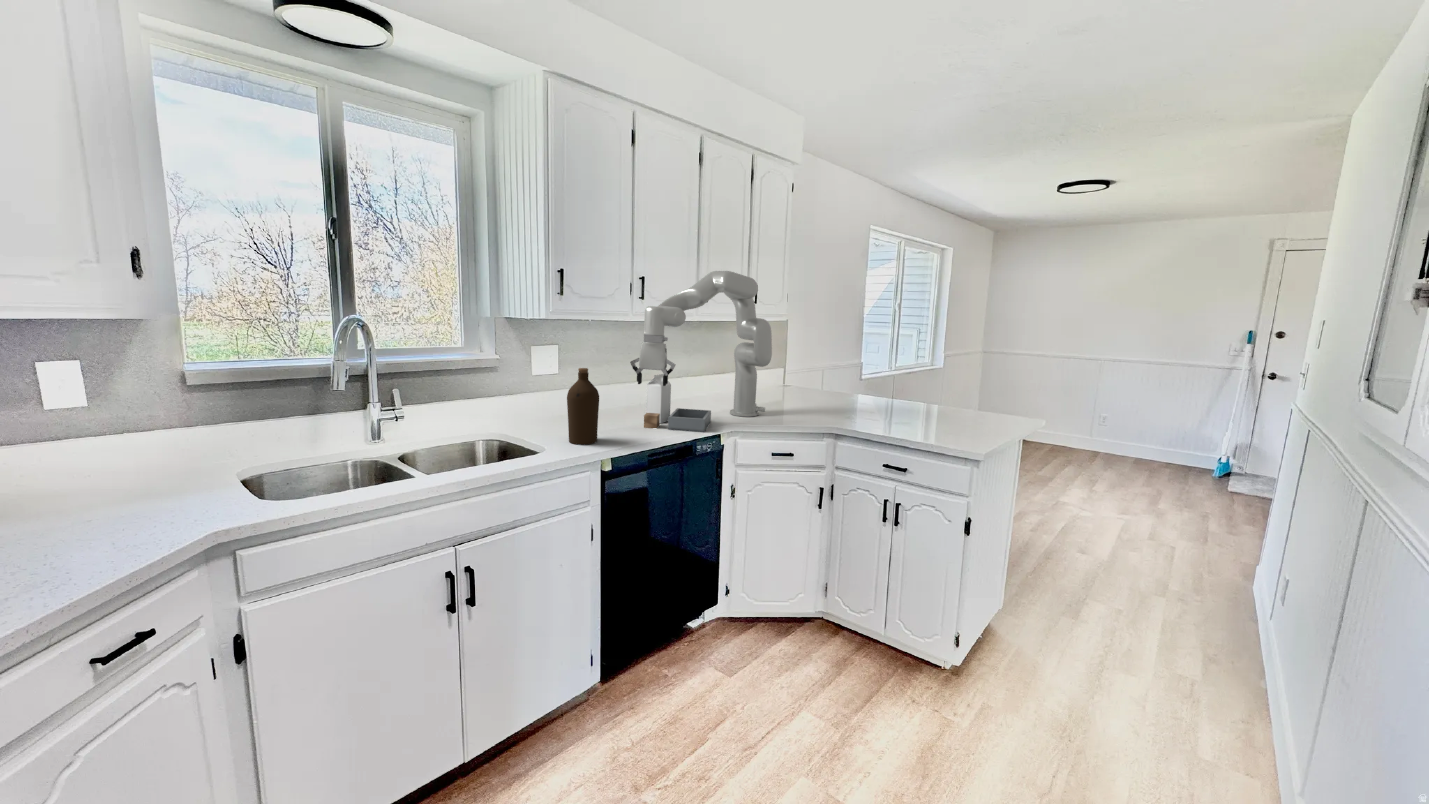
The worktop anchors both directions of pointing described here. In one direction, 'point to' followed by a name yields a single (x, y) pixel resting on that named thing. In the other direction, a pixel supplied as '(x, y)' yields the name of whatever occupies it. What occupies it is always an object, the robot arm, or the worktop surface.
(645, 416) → the walnut cube
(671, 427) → the tote
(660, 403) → the milk carton
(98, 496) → the worktop surface
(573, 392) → the olive oil
